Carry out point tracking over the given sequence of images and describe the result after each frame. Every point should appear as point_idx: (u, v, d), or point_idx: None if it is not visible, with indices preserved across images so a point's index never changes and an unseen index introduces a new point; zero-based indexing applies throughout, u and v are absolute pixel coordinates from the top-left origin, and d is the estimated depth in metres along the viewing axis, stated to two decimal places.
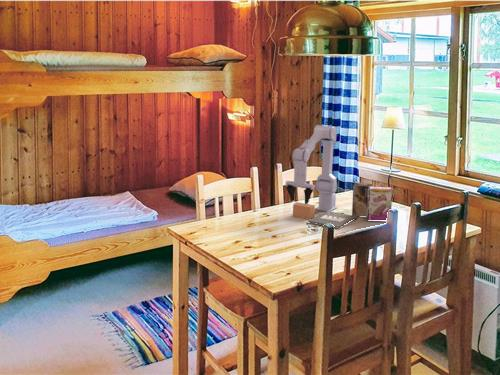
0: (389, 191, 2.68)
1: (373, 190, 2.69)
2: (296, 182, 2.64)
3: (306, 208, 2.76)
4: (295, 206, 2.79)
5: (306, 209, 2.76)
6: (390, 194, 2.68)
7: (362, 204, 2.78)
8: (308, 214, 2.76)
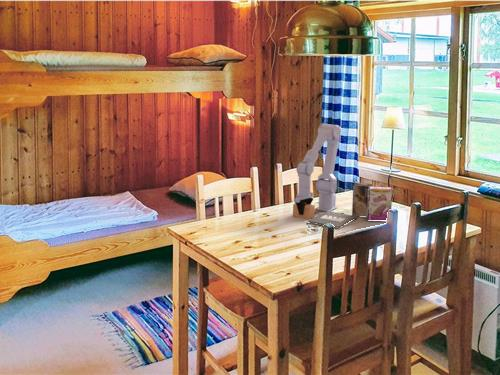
0: (389, 191, 2.68)
1: (373, 190, 2.69)
2: None
3: (306, 208, 2.76)
4: (295, 206, 2.79)
5: (306, 209, 2.76)
6: (390, 194, 2.68)
7: (362, 204, 2.78)
8: (308, 214, 2.76)
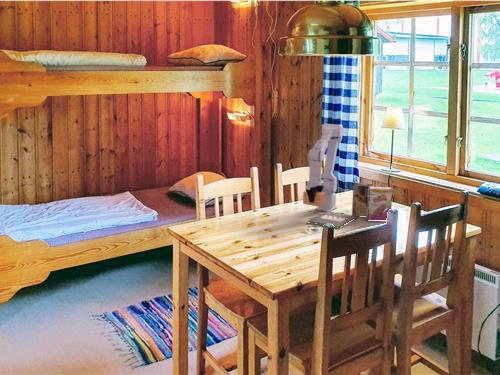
0: (389, 191, 2.68)
1: (373, 190, 2.69)
2: None
3: (316, 195, 2.72)
4: (305, 194, 2.75)
5: (317, 196, 2.72)
6: (390, 194, 2.68)
7: (362, 204, 2.78)
8: (319, 202, 2.72)
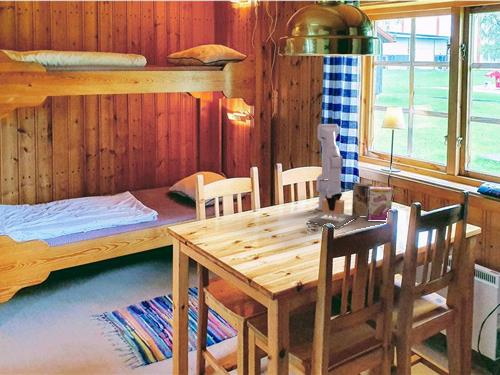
0: (389, 191, 2.68)
1: (373, 190, 2.69)
2: None
3: (337, 203, 2.68)
4: (324, 202, 2.71)
5: (337, 204, 2.68)
6: (390, 194, 2.68)
7: (362, 204, 2.78)
8: (339, 209, 2.68)
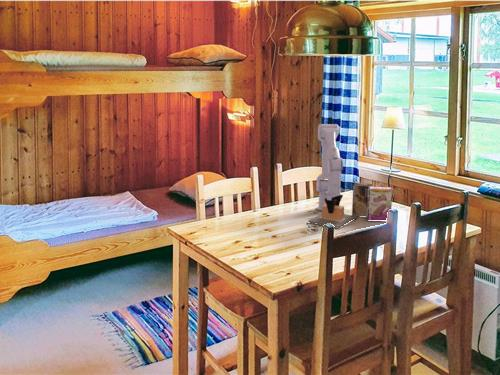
0: (389, 191, 2.68)
1: (373, 190, 2.69)
2: None
3: (336, 209, 2.69)
4: (324, 208, 2.72)
5: (337, 210, 2.69)
6: (390, 194, 2.68)
7: (362, 204, 2.78)
8: (339, 216, 2.69)
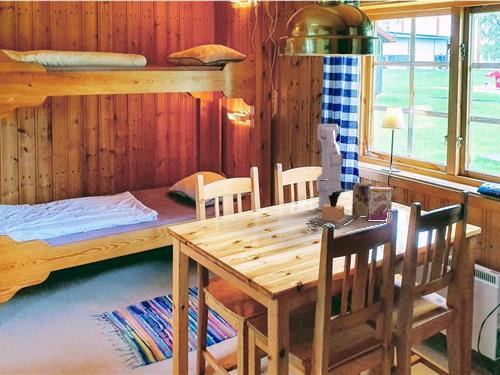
0: (389, 191, 2.68)
1: (373, 190, 2.69)
2: None
3: (336, 209, 2.69)
4: (324, 208, 2.72)
5: (337, 210, 2.69)
6: (390, 194, 2.68)
7: (362, 204, 2.78)
8: (339, 216, 2.69)
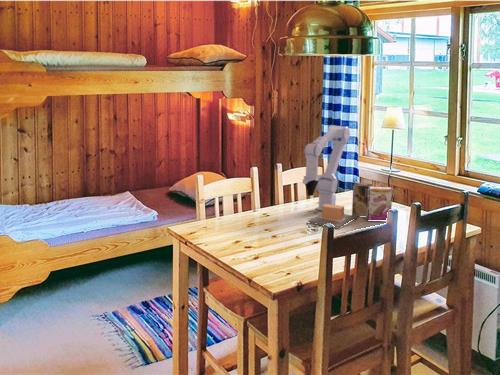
0: (389, 191, 2.68)
1: (373, 190, 2.69)
2: None
3: (336, 209, 2.69)
4: (324, 208, 2.72)
5: (337, 210, 2.69)
6: (390, 194, 2.68)
7: (362, 204, 2.78)
8: (339, 216, 2.69)
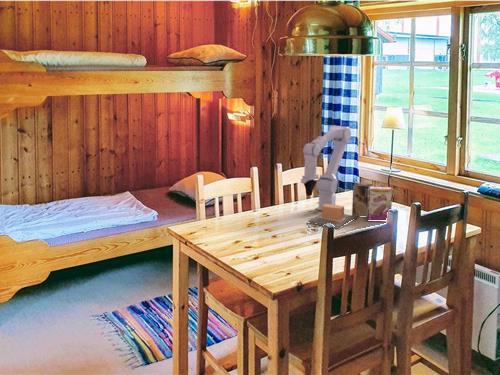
0: (389, 191, 2.68)
1: (373, 190, 2.69)
2: None
3: (336, 209, 2.69)
4: (324, 208, 2.72)
5: (337, 210, 2.69)
6: (390, 194, 2.68)
7: (362, 204, 2.78)
8: (339, 216, 2.69)
